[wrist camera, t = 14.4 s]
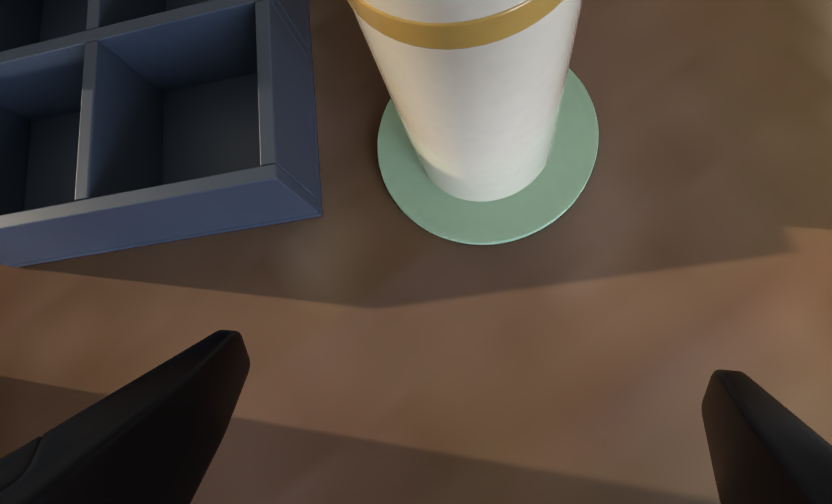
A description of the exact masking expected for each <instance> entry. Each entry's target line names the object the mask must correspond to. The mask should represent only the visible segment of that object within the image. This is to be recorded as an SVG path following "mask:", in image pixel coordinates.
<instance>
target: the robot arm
mask: <svg viewBox="0 0 832 504" xmlns="http://www.w3.org/2000/svg"><path fill="white" fill-rule="evenodd" d="M249 368H250V360H249V356H248V353H247V350H246V347H245V344H244V341H243V339H242V336H241V334H240V333H239V332H237V331H230V330H219V331H217V332H215V333H213V334H212V335H210V336H208V337H206V338H205V339H203V340H201V341H200V342H198V343H196V344H195V345H193V346H191V347H190V348H188V349H186V350H185V351H183V352H181V353H179V354H178V355H176V356H174V357H173V358H171V359H169V360H168V361H166V362H164V363H163V364H161V365H159V366H158V367H156V368H154V369H152V370H151V371H149V372H147V373H146V374H144V375H142V376H141V377H139V378H137V379H136V380H134V381H132V382H131V383H129V384H127V385H125V386H124V387H122V388H120V389H119V390H117V391H115V392H114V393H112V394H110V395H109V396H107V397H105V398H104V399H102V400H100V401H98V402H97V403H95V404H93V405H92V406H90V407H88V408H87V409H85V410H83V411H82V412H80V413H78V414H77V415H75V416H73V417H71V418H70V419H68V420H66V421H65V422H63V423H61V424H60V425H58V426H56V427H55V428H53V429H51V430H50V431H48V432H46V433H45V434H44V435H43V436H42V437H37V438H36V439H34V440H32V441H31V442H29V443H27V444H26V445H24V446H22V447H21V448H19V449H17V450H16V451H14V452H12V453H10V454H9V455H7V456H5V457H3V458H2V459H0V504H190V503H191V501H192V499H193V497H194V495H195V493H196V491H197V489H198V487H199V485H200V483H201V481H202V479H203V477H204V475H205V473H206V471H207V469H208V467H209V465H210V463H211V461H212V459H213V457H214V455H215V453H216V451H217V449H218V447H219V445H220V443H221V441H222V439H223V436H224V434H225V432H226V429H227V427H228V424H229V422H230V419H231V416H232V414H233V411H234V409H235V406H236V403H237V401H238V398H239V396H240V393H241V390H242V388H243V385H244V382H245V380H246V377H247V375H248V372H249ZM702 417H703V421H704V426H705V431H706V436H707V441H708V446H709V451H710V456H711V461H712V465H713V470H714V475H715V480H716V485H717V489H718V494H719V498H720V502H721V504H832V446H831V445H830V444H829V443H828V442H827V441H825V440H824V439H823V438H822V437H821V436H819V435H818V434H817V433H816V432H815V431H813V430H812V429H811V428H810V427H809V426H807V425H806V424H805V423H804V422H803V421H801V420H800V419H799V418H798V417H797V416H795V415H794V414H793V413H792V412H791V411H789V410H788V409H787V408H786V407H785V406H783V405H782V404H781V403H780V402H778V401H777V400H776V399H775V398H774V397H772V396H771V395H770V394H769V393H768V392H766V391H765V390H764V389H763V388H762V387H760V386H759V385H758V384H757V383H756V382H754V381H753V380H752V379H751V378H750V377H748V376H747V375H746V374H744V373H743V372H740V371H731V370H716V371H714V372H713V374H712V376H711V379H710V381H709V384H708V387H707V390H706V393H705V396H704V399H703V402H702Z"/></svg>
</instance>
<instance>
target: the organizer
mask: <svg viewBox="0 0 832 504" xmlns="http://www.w3.org/2000/svg"><path fill="white" fill-rule="evenodd" d="M320 216H322V200H321V185H320V169H319V154H318V139H317V123H316V108H315V93H314V77H313V62H312V46H311V31H310V16H309V0H0V264H2V265H7V266H11V267H22V266H28V265H34V264H40V263H46V262H52V261H58V260H64V259H69V258H75V257H81V256H87V255H93V254H99V253H105V252H111V251H117V250H123V249H129V248H135V247H141V246H147V245H153V244H159V243H165V242H171V241H177V240H183V239H189V238H195V237H201V236H207V235H213V234H219V233H225V232H231V231H237V230H243V229H249V228H255V227H261V226H267V225H273V224H279V223H285V222H290V221H296V220H302V219H308V218H314V217H320Z"/></svg>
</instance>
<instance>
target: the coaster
mask: <svg viewBox="0 0 832 504" xmlns="http://www.w3.org/2000/svg"><path fill="white" fill-rule="evenodd" d="M598 138H599V130H598V122H597V116H596V113H595V109H594V105H593V103H592V101H591V98H590V96H589V94H588V92H587V90H586V89H585V87H584V86H583V84H582V82H581V81H580V80H579V79H578V78H577V76H576V75H575V74H574V73H573V72H572V71H571V70H570V69H568V74H567V79H566V84H565V89H564V94H563V99H562V104H561V109H560V113H559V118H558V123H557V128H556V133H555V138H554V143H553V147H552V151H551V154H550V157H549V159H548V161H547V163H546V165H545V167H544V168H543V170H542V171H541V173H540V174H539V175H538V176H537V177H536V178H535V179H534V180H533V181H532V182H531V183H530V184H529V185H528V186H526V187H525V188H523V189H522V190H520V191H519V192H517V193H515V194H513V195H510V196H508V197H505V198H502V199H498V200H493V201H481V202H477V201H468V200H464V199H459V198H457V197H454V196H452V195H449V194H448V193H446V192H444V191H442V190H441V189H440V188H438V187H437V186H436V185H435V184H434V183H433V182H432V181H431V180H430V179H429V178H428V177H427V175H426V174H425V173H424V171H423V169H422V167H421V165H420V163H419V161H418V158H417V156H416V154H415V152H414V149H413V147H412V145H411V142H410V140H409V138H408V136H407V133H406V131H405V129H404V126H403V124H402V122H401V120H400V117H399V115H398V113H397V110H396V108H395V106H394V103H393V101H392V99H391V98H390V100H389V102H388V104H387V106H386V109H385V111H384V113H383V116H382V119H381V123H380V127H379V132H378V140H377V155H378V162H379V168H380V171H381V175H382V178H383V181H384V183H385V185H386V187H387V190H388V191H389V193H390V195H391V196H392V198H393V199H394V201H395V202H396V204H397V205H398V206H399V207H400V209H401V210H402V211H403V212H404V213H405V214H406V215H407V216H408V217H409V218H410V219H411V220H412V221H414V222H415V223H416V224H418V225H419V226H420V227H422V228H423V229H425V230H426V231H428V232H431V233H433V234H435V235H437V236H439V237H441V238H444V239H447V240H450V241H454V242H459V243H464V244H473V245H491V244H500V243H506V242H511V241H514V240H518V239H521V238H524V237H527V236H529V235H531V234H533V233H535V232H537V231H540V230H541V229H543V228H544V227H546V226H548V225H549V224H551V223H552V222H554V221H555V220H556V219H557V218H559V217H560V216H561V215H562V214H563V213H565V212H566V210H567V209H568V208H569V207H570V206H571V205H572V204H573V203H574V202H575V200H576V199H577V198H578V196H579V195H580V193H581V192H582V190H583V189H584V187H585V185H586V183H587V181H588V179H589V177H590V175H591V172H592V169H593V166H594V163H595V160H596V155H597V150H598Z"/></svg>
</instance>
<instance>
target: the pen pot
mask: <svg viewBox="0 0 832 504" xmlns="http://www.w3.org/2000/svg"><path fill="white" fill-rule="evenodd" d="M347 1H348V3H349V5H350V6H351V7H352V10H353V12H354V14H355V16H356V19H357V21H358V23H359V26H360V28H361V30H362V32H363V35H364V37H365V39H366V42H367V44H368V46H369V48H370V51H371V53H372V55H373V58H374V60H375V62H376V65H377V67H378V69H379V71H380V74H381V76H382V78H383V81H384V83H385V85H386V87H387V90H388V92H389V94H390V97H391V99H392V101H393V103H394V106H395V108H396V110H397V113H398V115H399V117H400V120H401V122H402V124H403V126H404V129H405V131H406V133H407V136H408V138H409V140H410V142H411V145H412V147H413V149H414V152H415V154H416V156H417V158H418V161H419V163H420V165H421V167H422V169H423V171H424V173H425V174H426V175H427V177H428V178H429V179H430V180H431V181H432V182H433V183H434V184H435V185H436V186H437V187H438V188H440V189H441V190H442V191H444V192H446V193H448V194H449V195H452V196H454V197H457V198H459V199H464V200H468V201H477V202H481V201H493V200H498V199H502V198H505V197H508V196H510V195H513V194H515V193H517V192H519V191H520V190H522V189H523V188H525V187H526V186H528V185H529V184H530V183H531V182H532V181H533V180H534V179H535V178H536V177H537V176H538V175H539V174H540V173H541V171H542V170H543V168H544V167H545V165H546V163H547V161H548V159H549V157H550V154H551V151H552V147H553V143H554V138H555V133H556V128H557V123H558V118H559V113H560V109H561V104H562V99H563V94H564V89H565V84H566V79H567V74H568V69H569V65H570V60H571V55H572V50H573V45H574V40H575V35H576V30H577V26H578V21H579V16H580V11H581V6H582V1H583V0H347Z"/></svg>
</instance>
